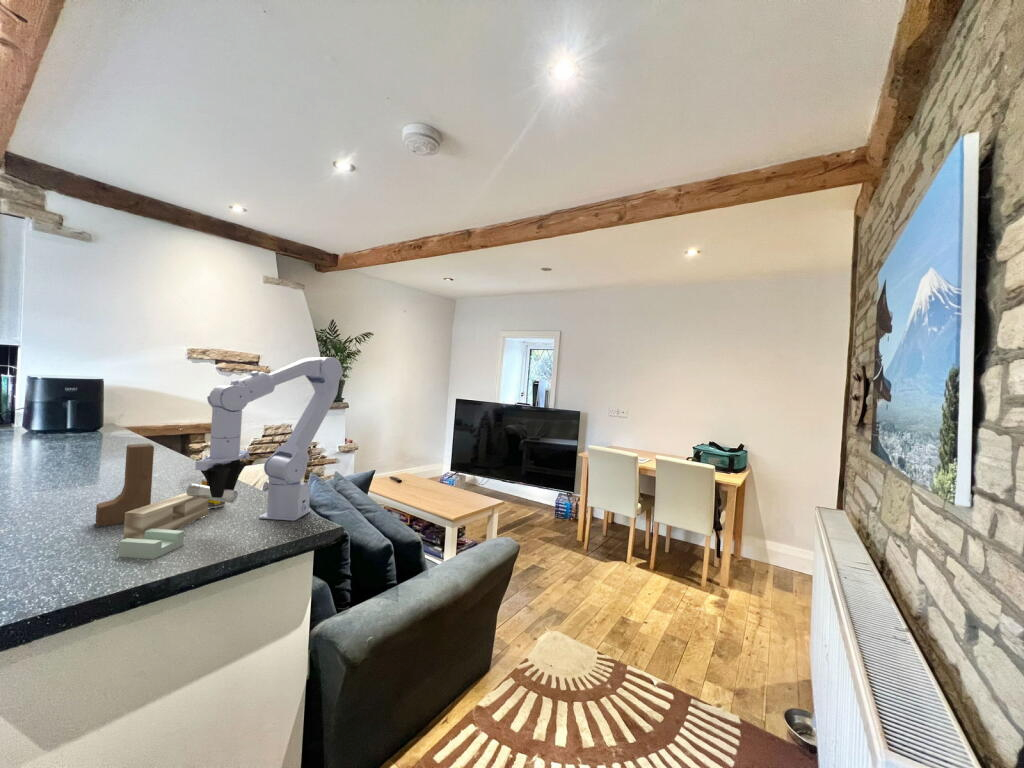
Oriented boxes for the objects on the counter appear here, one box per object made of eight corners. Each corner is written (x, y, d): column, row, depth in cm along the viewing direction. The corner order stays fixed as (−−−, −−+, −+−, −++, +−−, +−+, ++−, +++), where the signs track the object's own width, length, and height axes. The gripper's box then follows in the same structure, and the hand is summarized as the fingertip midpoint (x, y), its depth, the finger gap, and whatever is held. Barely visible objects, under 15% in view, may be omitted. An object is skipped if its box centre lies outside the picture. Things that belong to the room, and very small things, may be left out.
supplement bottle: (201, 511, 107) (203, 472, 107) (198, 505, 111) (201, 468, 111) (227, 507, 110) (229, 470, 110) (223, 502, 114) (225, 466, 114)
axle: (236, 501, 96) (238, 489, 96) (227, 504, 93) (230, 491, 93) (194, 494, 96) (197, 482, 96) (185, 496, 93) (188, 484, 93)
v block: (183, 544, 86) (184, 530, 86) (153, 559, 79) (154, 543, 79) (150, 542, 86) (151, 528, 86) (118, 556, 79) (119, 541, 79)
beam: (207, 515, 103) (209, 491, 103) (141, 543, 85) (143, 513, 85) (192, 514, 103) (193, 490, 103) (123, 541, 85) (125, 512, 86)
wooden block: (96, 528, 92) (101, 448, 92) (95, 522, 95) (100, 445, 95) (149, 519, 99) (154, 445, 99) (146, 514, 102) (151, 443, 102)
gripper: (231, 432, 102) (227, 486, 102) (183, 439, 87) (179, 503, 87) (258, 433, 101) (255, 488, 101) (215, 441, 87) (211, 505, 87)
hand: (222, 495), depth 94 cm, fingers closed on axle, 3 cm apart
